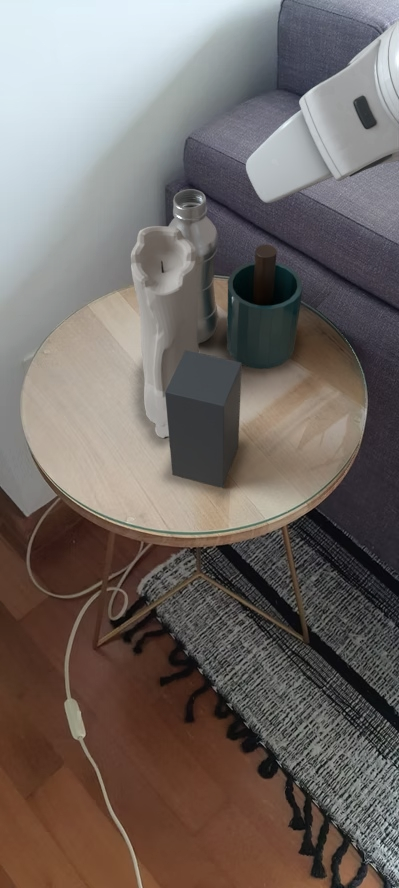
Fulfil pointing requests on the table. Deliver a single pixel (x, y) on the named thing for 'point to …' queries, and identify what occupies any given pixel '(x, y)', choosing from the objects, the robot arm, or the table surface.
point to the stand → (204, 417)
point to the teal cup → (262, 318)
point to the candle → (164, 311)
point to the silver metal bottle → (199, 254)
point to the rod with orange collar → (264, 275)
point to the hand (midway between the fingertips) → (303, 164)
